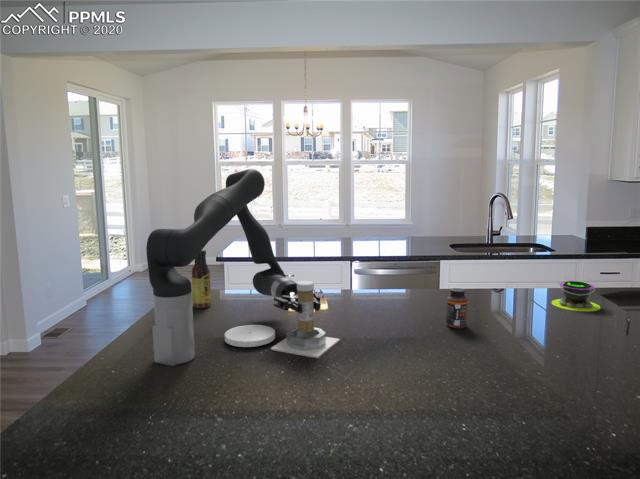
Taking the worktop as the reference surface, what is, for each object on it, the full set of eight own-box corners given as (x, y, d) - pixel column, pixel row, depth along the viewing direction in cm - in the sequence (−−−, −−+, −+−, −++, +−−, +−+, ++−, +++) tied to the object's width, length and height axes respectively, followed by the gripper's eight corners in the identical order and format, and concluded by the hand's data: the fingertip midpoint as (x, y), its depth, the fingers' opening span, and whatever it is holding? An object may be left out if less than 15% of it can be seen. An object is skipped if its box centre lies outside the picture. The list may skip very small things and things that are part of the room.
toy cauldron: (555, 309, 166) (557, 277, 164) (548, 298, 180) (550, 268, 179) (605, 313, 162) (608, 280, 160) (594, 301, 176) (596, 270, 174)
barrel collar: (314, 352, 129) (314, 341, 128) (281, 346, 133) (281, 335, 133) (330, 340, 138) (330, 329, 137) (298, 335, 142) (298, 325, 141)
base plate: (318, 358, 126) (318, 356, 126) (270, 349, 132) (270, 348, 132) (339, 340, 139) (340, 338, 139) (295, 333, 145) (295, 331, 145)
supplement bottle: (462, 330, 146) (463, 293, 144) (442, 326, 150) (444, 290, 148) (469, 325, 151) (470, 289, 149) (450, 321, 154) (451, 286, 153)
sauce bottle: (208, 309, 170) (206, 251, 167) (190, 309, 170) (187, 252, 167) (213, 303, 176) (211, 248, 173) (195, 303, 176) (193, 248, 173)
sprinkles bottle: (307, 326, 138) (306, 279, 136) (317, 330, 135) (317, 282, 132) (294, 330, 135) (293, 282, 133) (304, 334, 132) (303, 285, 130)
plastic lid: (214, 345, 137) (214, 336, 136) (244, 330, 149) (244, 322, 149) (256, 354, 130) (256, 344, 130) (284, 337, 143) (284, 329, 142)
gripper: (263, 282, 143) (284, 297, 128) (309, 277, 149) (334, 291, 134) (264, 307, 145) (284, 325, 129) (309, 301, 150) (334, 318, 135)
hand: (309, 308), depth 131 cm, fingers closed on sprinkles bottle, 4 cm apart
